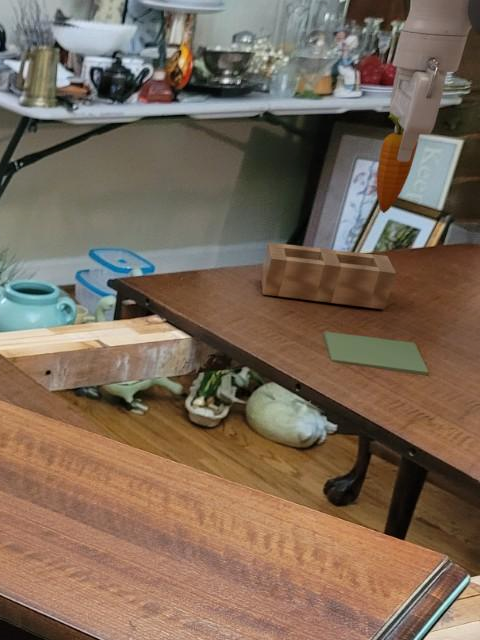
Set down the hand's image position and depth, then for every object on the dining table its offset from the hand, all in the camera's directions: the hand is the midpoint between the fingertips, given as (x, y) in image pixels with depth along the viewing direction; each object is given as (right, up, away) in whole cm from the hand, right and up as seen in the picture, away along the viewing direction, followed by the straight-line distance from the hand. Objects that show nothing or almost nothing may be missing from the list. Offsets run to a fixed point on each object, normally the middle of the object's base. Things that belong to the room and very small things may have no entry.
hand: (399, 157), depth 165 cm
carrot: (0, -7, +5) cm, 8 cm away
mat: (-7, -31, -6) cm, 32 cm away
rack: (-4, -15, +21) cm, 26 cm away
